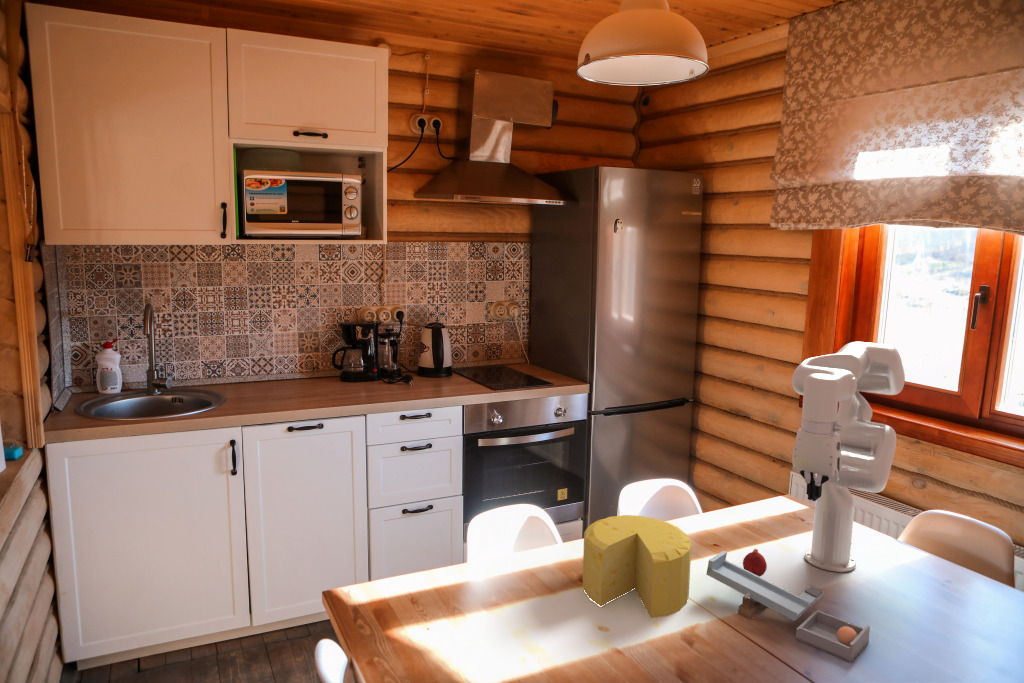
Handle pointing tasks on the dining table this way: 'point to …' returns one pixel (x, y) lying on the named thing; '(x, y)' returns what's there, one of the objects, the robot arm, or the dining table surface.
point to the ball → (846, 635)
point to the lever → (761, 588)
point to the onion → (755, 563)
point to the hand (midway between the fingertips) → (813, 498)
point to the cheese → (637, 562)
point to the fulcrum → (750, 608)
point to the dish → (831, 635)
